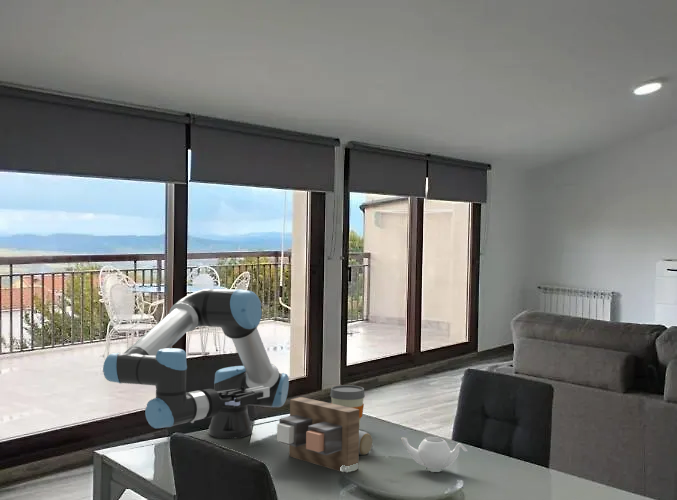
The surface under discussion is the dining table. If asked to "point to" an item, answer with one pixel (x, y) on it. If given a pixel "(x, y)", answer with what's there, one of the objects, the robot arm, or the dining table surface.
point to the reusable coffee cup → (348, 397)
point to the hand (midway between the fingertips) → (265, 391)
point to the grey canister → (364, 443)
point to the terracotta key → (315, 440)
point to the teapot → (433, 452)
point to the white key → (285, 433)
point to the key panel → (337, 431)
